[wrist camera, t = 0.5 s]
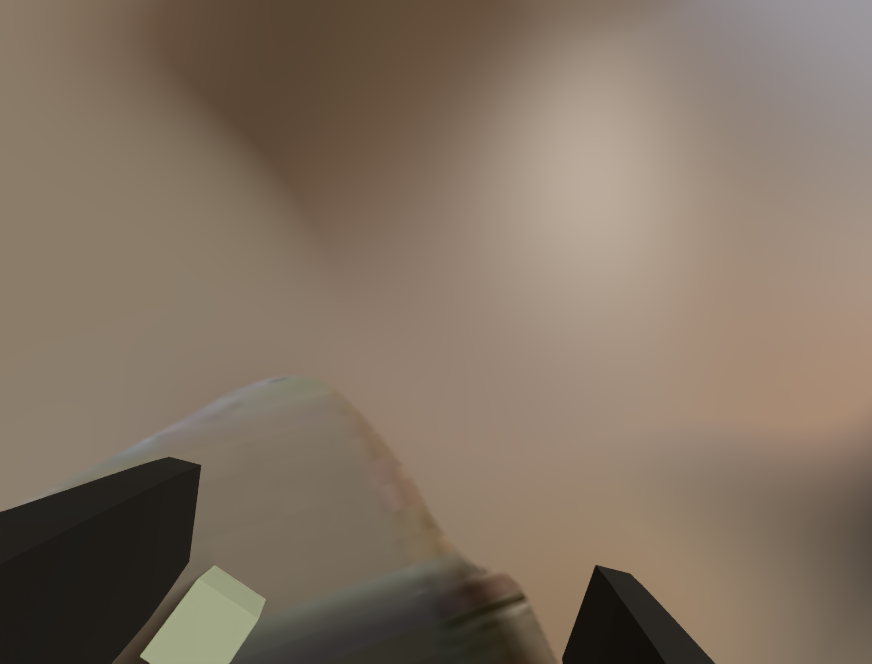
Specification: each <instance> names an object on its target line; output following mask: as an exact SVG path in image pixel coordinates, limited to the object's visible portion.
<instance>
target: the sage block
mask: <svg viewBox="0 0 872 664" xmlns="http://www.w3.org/2000/svg"><path fill="white" fill-rule="evenodd" d="M265 600H266V599H264V598H263V597H261V596H260V595H258V594H257V593H255V592H254V591H252V590H251V589H249V588H248V587H246V586H245V585H243V584H242V583H240V582H239V581H237V580H236V579H234V578H233V577H231V576H230V575H228V574H227V573H225V572H224V571H222V570H221V569H219V568H218V567H216V566H213V567H212V568H211V569H210V570H208V571H207V572H206V573H205V574H203V575H202V576H201V577H199V578H198V579H197V581H196V582H195V583H194V585H193V586H192V587H191V589H190V590H189V591H188V593H187V594H186V595H185V597H184V598H183V599H182V601H181V602H180V603H179V605H178V606H177V607H176V609H175V610H174V611H173V613H172V614H171V615H170V617H169V618H168V619H167V621H166V622H165V623H164V625H163V626H162V627H161V629H160V630H159V631H158V633H157V634H156V635H155V637H154V638H153V639H152V641H151V642H150V643H149V645H148V646H147V647H146V649H145V650H144V651H143V653H142V654H141V655H140V657H141V658H143V659H144V660H146V661H147V662H149V663H150V664H229V663H230V661H231V660H232V658H233V657H234V655H235V654H236V652H237V651H238V649H239V648H240V646H241V645H242V643H243V642H244V640H245V639H246V637H247V636H248V634H249V633H250V631H251V630H252V628H253V627H254V625H255V624H256V622H257V621H258V619H259V617H260V614H261V611H262V608H263V606H264V603H265Z"/></svg>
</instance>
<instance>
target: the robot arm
mask: <svg viewBox="0 0 872 664" xmlns="http://www.w3.org/2000/svg"><path fill="white" fill-rule="evenodd" d="M200 471H201V465H199V464H195V463H191V462H187V461H183V460H179V459H175V458H171V457H167V458H163V459H159V460H155V461H152V462H149V463H145V464H142V465H139V466H136V467H133V468H130V469H127V470H124V471H121V472H118V473H115V474H112V475H109V476H106V477H103V478H100V479H97V480H95V481H92V482H89V483H86V484H83V485H80V486H77V487H74V488H71V489H68V490H65V491H62V492H59V493H56V494H53V495H50V496H47V497H44V498H41V499H39V500H36V501H33V502H30V503H27V504H24V505H21V506H18V507H15V508H12V509H9V510H5V511H2V512H0V664H111V663H112V662H113V661H114V660H115V659H116V658H117V656H118V655H119V654H120V653H121V652H122V651H123V649H124V648H125V647H126V646H127V645H128V644H129V642H130V641H131V640H132V639H133V638H134V637H135V635H136V634H137V633H138V632H139V631H140V629H141V628H142V627H143V626H144V625H145V624H146V622H147V621H148V620H149V619H150V617H151V616H152V614H153V613H154V612H155V610H156V609H157V607H158V606H159V605H160V603H161V602H162V600H163V599H164V598H165V596H166V595H167V593H168V592H169V591H170V589H171V588H172V586H173V585H174V583H175V582H176V580H177V579H178V577H179V576H180V574H181V573H182V571H183V570H184V568H185V567H186V565H187V564H188V563H189V558H190V550H191V542H192V534H193V526H194V518H195V510H196V502H197V495H198V487H199V479H200ZM562 661H563V664H715V663H714V662H713V661H712V660H711V659H710V657H708V656H707V654H706V653H705V652H704V651H703V650H702V649H701V648H700V647H699V646H698V644H697V643H696V642H695V641H694V640H693V639H692V638H691V637H690V636H689V635H688V634H687V633H686V631H685V630H684V629H683V628H682V627H681V626H680V625H679V624H678V623H677V622H676V621H675V619H674V618H673V617H672V616H671V615H670V614H669V613H668V612H667V611H666V610H665V609H664V608H663V607H662V606H661V605H660V603H659V602H658V601H657V600H656V599H655V598H654V597H653V596H652V595H651V594H650V593H649V592H648V591H647V590H646V589H645V588H644V587H643V586H642V585H641V584H640V583H639V582H638V581H637V580H636V579H635V578H634V577H633V576H632V575H631V574H629V573H625V572H622V571H618V570H614V569H609V568H606V567H602V566H598V565H596V566H595V568H594V571H593V574H592V577H591V580H590V582H589V585H588V588H587V591H586V593H585V596H584V599H583V602H582V605H581V607H580V610H579V613H578V616H577V619H576V621H575V624H574V627H573V630H572V633H571V635H570V638H569V641H568V644H567V646H566V649H565V652H564V655H563V658H562Z"/></svg>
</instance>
